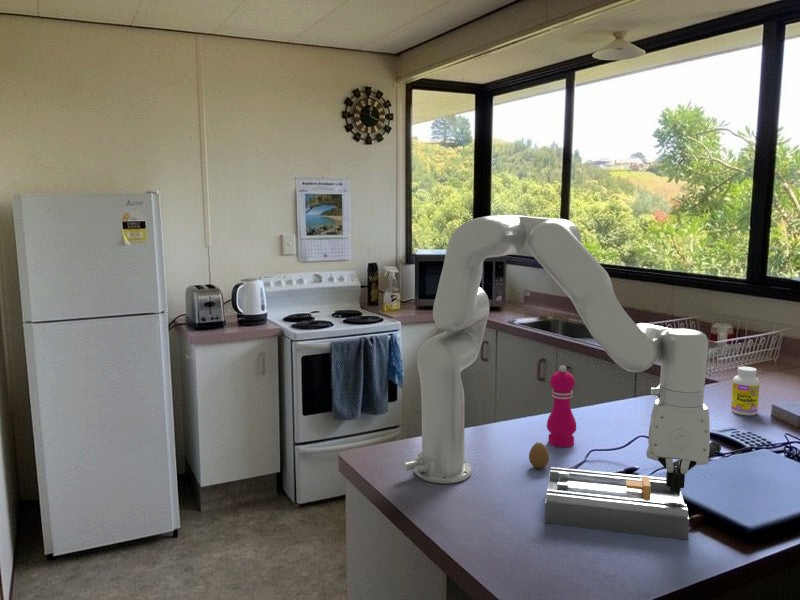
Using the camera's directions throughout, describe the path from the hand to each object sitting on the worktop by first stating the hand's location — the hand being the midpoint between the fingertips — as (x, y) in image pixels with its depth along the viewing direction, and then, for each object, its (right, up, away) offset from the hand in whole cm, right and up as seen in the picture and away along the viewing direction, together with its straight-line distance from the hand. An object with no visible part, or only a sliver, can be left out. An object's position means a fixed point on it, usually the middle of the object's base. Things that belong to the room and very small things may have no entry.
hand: (674, 490), depth 120 cm
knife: (+15, -2, +27) cm, 31 cm away
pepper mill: (-11, 0, +41) cm, 42 cm away
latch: (-6, -1, +2) cm, 7 cm away
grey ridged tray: (-10, -6, +4) cm, 12 cm away
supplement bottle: (+46, +4, +61) cm, 76 cm away
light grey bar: (-13, -1, +4) cm, 13 cm away
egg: (-20, -3, +26) cm, 33 cm away
